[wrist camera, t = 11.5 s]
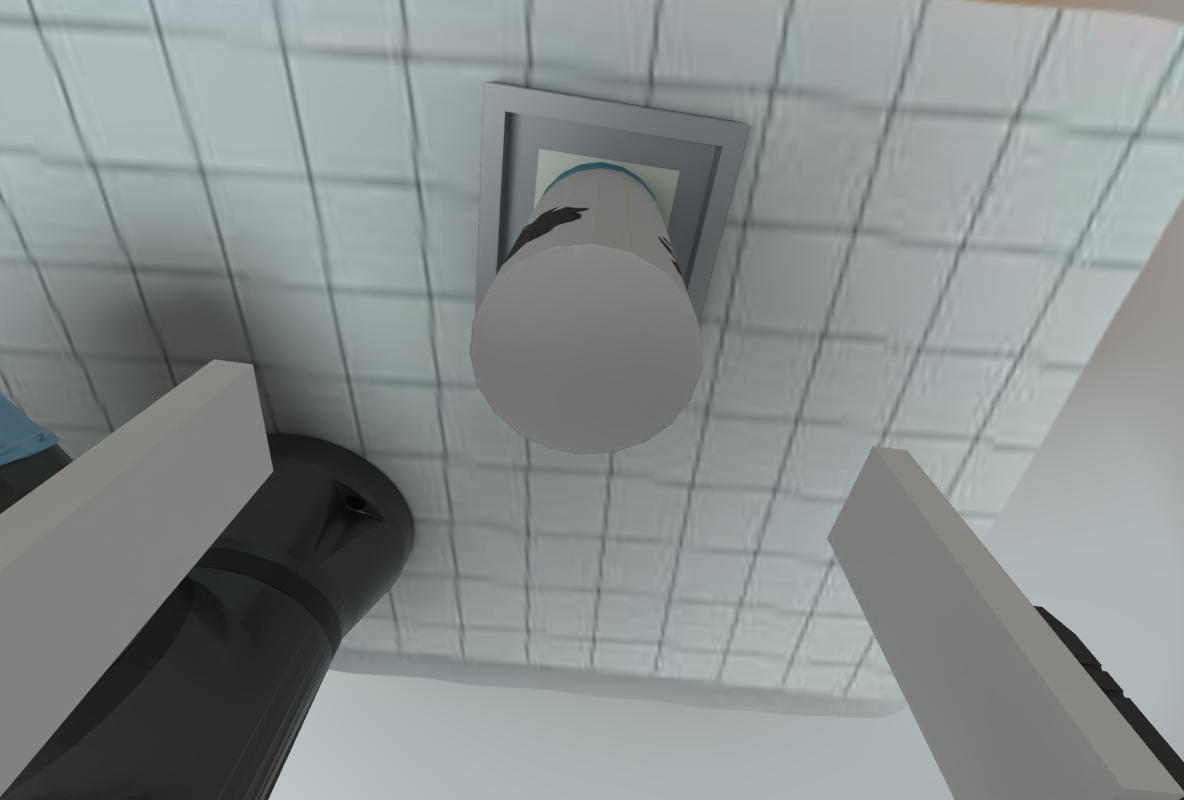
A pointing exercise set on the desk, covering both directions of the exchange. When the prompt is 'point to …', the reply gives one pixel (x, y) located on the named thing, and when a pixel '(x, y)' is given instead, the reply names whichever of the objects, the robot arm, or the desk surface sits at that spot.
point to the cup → (589, 319)
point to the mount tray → (615, 136)
